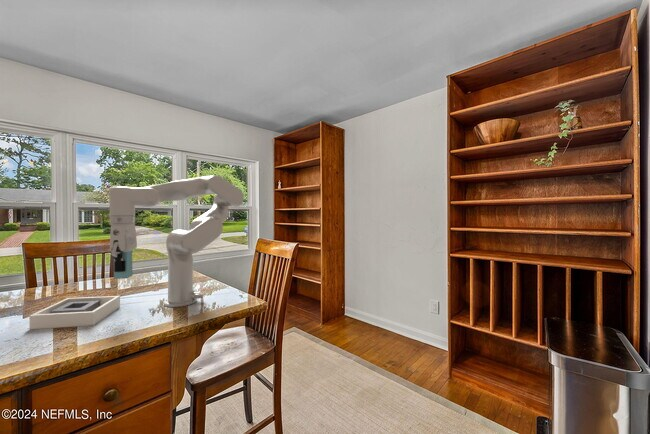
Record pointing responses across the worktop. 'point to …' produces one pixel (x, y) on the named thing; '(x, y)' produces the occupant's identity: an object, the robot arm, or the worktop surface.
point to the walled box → (74, 312)
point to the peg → (128, 267)
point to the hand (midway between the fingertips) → (123, 269)
